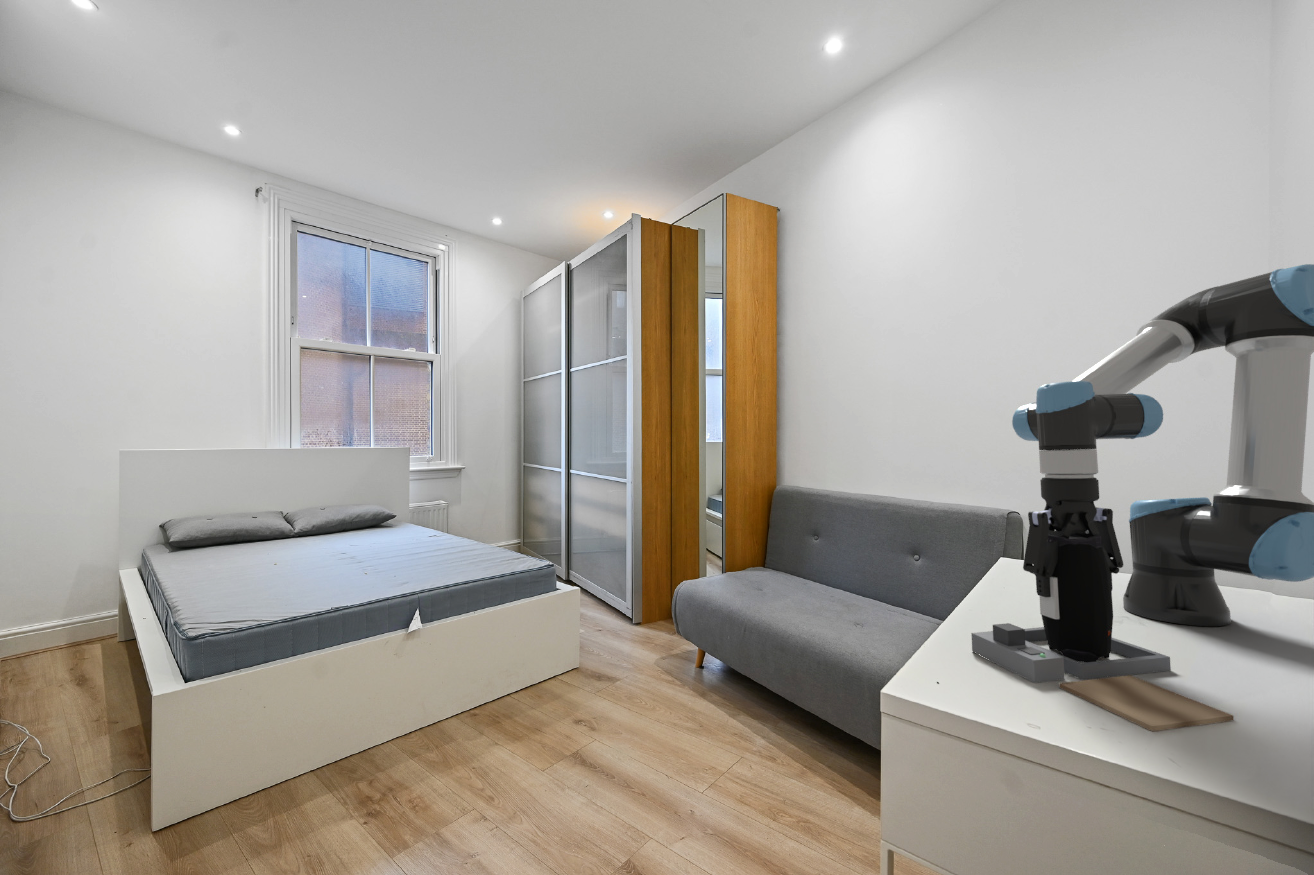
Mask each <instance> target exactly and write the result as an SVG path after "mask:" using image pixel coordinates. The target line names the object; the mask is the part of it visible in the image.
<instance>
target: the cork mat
mask: <svg viewBox="0 0 1314 875" xmlns="http://www.w3.org/2000/svg"><path fill="white" fill-rule="evenodd" d="M1058 684H1059V685H1058V686H1059V688H1060V689H1061V690H1064V691H1065V692H1068V693H1070V694H1073V695H1075V696H1077V697H1079V698H1081V699H1083V700H1085V701H1087V702H1090V703H1092V704H1093V705H1095V706H1097V707H1100V708H1102V709H1104V710H1106V711H1108V712H1110V713H1112V714H1114V715H1116V716H1119V717H1121V718H1123V719H1124V720H1127V721H1129V722H1130V723H1131V722H1132V723H1134V724H1136V725H1138V726H1139V727H1142V728H1144V729H1147V730H1149V731H1150V732H1159V731H1164V730H1166V731H1167V730H1173V729H1174V730H1175V729H1180V728H1188V727H1194V726H1203V725H1211V724H1218V723H1224V722H1232V721H1231V720H1233V721H1234V715H1233V714H1231V713H1228V712H1225V711H1223V710H1220V709H1218V708H1215V707H1212V706H1210V705H1207V704H1205V703H1202V702H1200V701H1197V700H1195V699H1192V698H1190V697H1187V696H1185V695H1182V694H1180V693H1177V692H1175V691H1172V690H1169V689H1166V688H1164V687H1161V686H1159V685H1156V684H1154V683H1151V682H1149V681H1146V680H1143V679H1140V678H1138V677H1135V676H1134V675H1125V676H1116V677H1107V678H1098V679H1089V680H1078V681H1067V682H1066V681H1065V682H1059V683H1058Z"/></svg>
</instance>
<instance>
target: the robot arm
mask: <svg viewBox="0 0 1314 875" xmlns="http://www.w3.org/2000/svg"><path fill="white" fill-rule="evenodd" d="M1221 347H1224V350H1225V351H1226V352H1228V353H1229V354H1230V355H1232V356H1234V358H1235V359H1236V360H1235V370H1234V371H1235V373H1234V383H1233V384H1234V385H1233V400H1232V411H1231V423H1230V436H1229V437H1230V438H1229V450H1228V460H1227V461H1228V463H1227V476H1226V486H1225V487H1224V488H1223V489H1221V490H1219V491H1217V492H1216V493H1214V494H1213V496H1212V497H1213V499H1212V501H1210V499H1209V498H1208V497H1206V496H1205V497H1182V498H1181V497H1179V498H1161V499H1142V500H1141V499H1140V500H1135V501H1134V502H1132V504H1130V507H1129V509H1130V510H1129V519H1128V522H1129V531H1130V532H1129V534H1130V544H1131V546H1130V547H1131V559H1132V560H1131V562H1132V573H1131V576H1130V579H1129V581H1128V584H1127V586H1126V590H1125V592H1124V594H1123V597H1122V601H1123V609H1124V610H1125V611H1127V612H1128V613H1130V614H1134V615H1136V616H1140V617H1143V618H1146V619H1151V620H1155V621H1160V622H1166V623H1172V624H1180V625H1187V626H1197V627H1199V626H1200V627H1221V626H1228V625H1230V624H1231V623H1232V620H1231V618H1232V617H1231V610H1230V607H1228V605H1227V602H1226V600H1225V598H1224V596H1223V594H1222V591H1221V589H1220V588H1219V586H1218V584H1217V582H1216V577H1215V570H1218V571H1224V572H1229V573H1234V574H1240V575H1244V576H1245V575H1246V576H1251V577H1257V578H1259V579H1262V580H1263V579H1264V580H1275V581H1283V582H1291V583H1292V582H1293V583H1295V582H1296V583H1297V582H1303V581H1305V582H1306V581H1308V580H1310V579H1313V578H1314V501H1312V500H1311V499H1310V498H1309V497H1307V496H1306V495H1305V494H1304V493H1303V492H1302V491H1303V490H1302V489H1303V488H1302V487H1303V478H1304V476H1303V473H1304V459H1305V444H1306V432H1307V417H1308V402H1309V401H1308V400H1309V391H1310V390H1309V387H1310V386H1309V385H1310V374H1311V373H1310V372H1311V362H1312V361H1311V360H1312V358H1311V357H1312V354H1313V353H1314V263H1313V264H1312V263H1310V264H1307V263H1306V264H1301V265H1296V266H1291V267H1288V268H1279V269H1275V270H1273V271H1271V272H1267V273H1263V274H1259V275H1256V276H1252V277H1247V278H1245V279H1241V280H1238V281H1233V282H1230V283H1224V284H1222V285H1219V286H1218V285H1217V286H1214V287H1209V288H1206V289H1204V290H1203V289H1202V290H1201V291H1198V292H1197V293H1194V294H1192V295H1190V296H1189V297H1185V298H1184V299H1182V300H1180V301H1179V302H1177V303H1175V304H1174V305H1172V306H1170V307H1168V308H1167V309H1165V310H1164V311H1163V312H1160V313H1159V314H1158V315H1155V316H1154V317H1152V319H1151V320H1149V321H1148V322H1146V323H1145V324H1142V326H1140V327H1139V329H1138V330H1137V333H1136V335H1135V336H1134V337H1133V338H1132V339H1131V340H1129V341H1127V342H1126V343H1124V344H1123V345H1122V346H1120V347H1119V348H1118V349H1116V350H1115V351H1113V352H1111V353H1110V354H1109V355H1107V356H1106V357H1104V358H1103V359H1102V360H1100V361H1098V362H1097V363H1096V364H1094V365H1092V367H1090V368H1088V369H1087V370H1086V371H1084V372H1082V373H1081V374H1080V375H1078V376H1077V377H1075V378H1074V379H1073V380H1071V381H1061V382H1060V381H1059V382H1052V383H1046V384H1043V385H1041V386H1039V387H1038V388H1037V390H1036V396H1035V397H1036V400H1035V402H1030V403H1029V404H1027V403H1026V404H1024V405H1021V406H1019V407H1018V408H1017V409H1016V410H1015V412H1014V413H1013V415H1012V420H1011V421H1012V422H1011V423H1012V424H1011V425H1012V428H1013V430H1014V432H1015V433H1016V435H1017V436H1018V437H1019V438H1020V439H1022V440H1023V441H1027V442H1030V441H1031V442H1038V454H1039V455H1038V456H1039V472H1040V473H1041V475H1044V477H1041V479H1040V496H1041V498H1042V499H1043V500H1044V501H1045V507H1044V509H1043V510H1040V511H1034V510H1030V511H1028V514H1027V517H1028V518H1027V519H1028V523H1029V524H1028V525H1029V527H1028V528H1029V529H1028V533H1027V540H1026V541H1027V542H1026V545H1025V546H1026V547H1025V552H1024V559H1023V560H1024V561H1023V566H1022V568H1023V571H1024V572H1027V573H1028V572H1029V573H1030V574H1032V575H1034V576H1035V585H1036V594H1037V595H1038V596H1039V612H1040V613H1039V614H1040V615H1041V616H1042V615H1044V616H1047V617H1050V618H1053V619H1059V600H1058V582H1057V578H1056V577H1052V575H1053V572H1054V569H1055V567H1056V564H1057V561H1058V548H1059V540H1056V541H1052V542H1051V543H1049V542H1048V541H1047V539H1048V535H1054V536H1059V537H1065V538H1066V539H1069V538H1070V535H1071V534H1076V535H1078V536H1082V537H1085V538H1089V537H1093V536H1095V535H1101V540H1103V544H1102V545H1103V549H1104V552H1105V556H1106V559H1107V563H1108V566H1109V570H1110V577H1111V591H1113V575H1112V574H1117V575H1118V573H1119V572H1120V569H1121V568H1123V567H1124V560H1123V557H1122V554H1121V549H1120V546H1119V542H1118V538H1117V535H1116V531H1115V526H1114V524H1113V520H1114V519H1113V517H1114V515H1113V514H1114V511H1113V509H1112V508H1104V507H1097V506H1095V502H1097V501H1098V500H1099V499H1100V486H1099V484H1100V482H1099V479H1097V477H1094V476H1095V475H1097V474H1099V463H1098V452H1097V451H1098V450H1097V440H1116V439H1124V440H1129V439H1130V440H1134V439H1137V438H1138V439H1139V438H1147V437H1149V436H1151V435H1153V434H1155V433H1156V431H1158V430H1159V429H1160V427H1161V426H1162V423H1163V421H1164V411H1163V410H1164V409H1163V407H1162V405H1161V404H1160V402H1159V401H1158V400H1156V399H1155V398H1154V397H1152V396H1150V395H1147V394H1142V393H1133V392H1130V391H1131V390H1133V389H1135V387H1137V386H1139V385H1140V384H1141V383H1143V382H1144V381H1145V380H1147V379H1149V378H1150V377H1151V376H1153V375H1154V374H1155V373H1157V372H1159V371H1160V370H1161V369H1163V368H1164V367H1166V366H1167V365H1168V364H1171V363H1172V364H1173V363H1179V362H1181V361H1184V360H1185V359H1187V358H1188V357H1190V356H1191V355H1193V354H1196V353H1199V352H1203V351H1206V350H1211V349H1216V348H1217V349H1218V348H1221ZM1044 566H1045V569H1044V568H1043V567H1044Z"/></svg>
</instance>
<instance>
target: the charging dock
mask: <svg viewBox="0 0 1314 875" xmlns="http://www.w3.org/2000/svg"><path fill="white" fill-rule="evenodd" d="M1024 629H1025V642H1027V643H1029V644H1032V645H1034V646H1037V647H1039V648H1042V649H1044V650H1047V651H1049V652H1051V653H1054V654H1056V655H1059V656H1061V657H1063V658H1064V674H1065V673H1066V674H1068V675H1070V676H1072V677H1075V678H1077V679H1079V680H1080V681H1084V680H1092V679H1101V678H1110V677H1119V676H1128V675H1131V676H1134V675H1140V674H1149V673H1158V672H1159V673H1161V672H1168V671H1169V672H1170V671H1171V670H1172V669H1171V668H1172V667H1171V656H1168V655H1166V654H1162V653H1161V652H1156V651H1153V650H1150V649H1147V648H1144V647H1142V646H1139V645H1135V644H1133V643H1130V642H1126V641H1124V640H1121V639H1118V638H1114V637H1112V638H1111V652H1110V653H1114V654H1117V655H1120V656H1122V657H1125V658H1118V659H1108V660H1097V661H1096V662H1077V661H1075V660H1072V659H1070V658H1068V657H1065V656H1063V655H1062V654H1061V653H1060V654H1059V653H1058V652H1055V651H1054V650H1049V648H1045V647H1042V646H1040V645H1038V644H1035V642H1037V643H1038V642H1047V639H1046V634H1045V629H1044V626H1042V627H1041V626H1040V627H1030V628H1024Z"/></svg>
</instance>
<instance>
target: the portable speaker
mask: <svg viewBox="0 0 1314 875" xmlns="http://www.w3.org/2000/svg"><path fill="white" fill-rule="evenodd" d="M1056 540H1059V548H1058V561H1057V564H1056V567H1055V569H1054V572H1053V575H1052V577H1056V578H1057V582H1058V600H1059V619H1053V618H1050V617H1047V616H1044V615H1041V619H1042V625H1043V627H1044V629H1045V634H1046V639H1047V641H1046V643H1047V646H1048V650H1050V651H1057V652H1059V653H1060V655H1063V656H1065V657H1068V658H1070V659H1072V660H1075V661H1077V662H1080V663H1086V662H1096V661H1099V659H1101V658H1104V659H1110V655H1111V653H1112V652H1111V638H1113V636H1112V634H1113V623H1114V622H1113V621H1114V609H1113V608H1114V607H1113V606H1114V605H1113V594H1112V591H1113V590H1112V591H1111V577H1110V570H1109V566H1108V563H1107V559H1106V556H1105V552H1104V549H1103V545H1102V544H1103V540H1101V535H1095V536H1093V537H1089V538H1085V537H1082V536H1078V535H1076V534H1071V535H1070V538H1069V539H1066V538H1065V537H1059V536H1054V535H1048V539H1047V541H1048V542H1049V543H1051V542H1052V541H1056ZM1043 568H1044V569H1045V566H1044V567H1043Z"/></svg>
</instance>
